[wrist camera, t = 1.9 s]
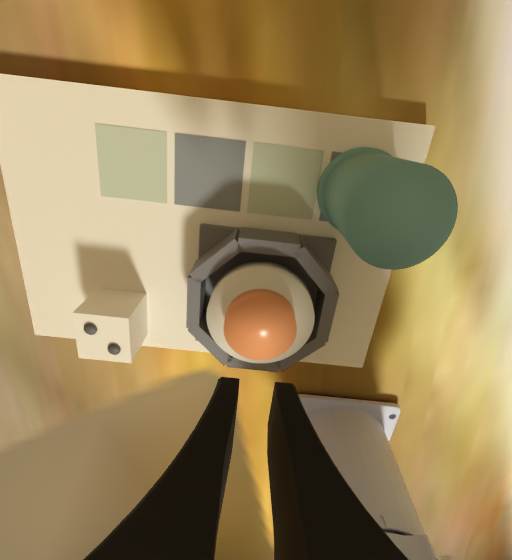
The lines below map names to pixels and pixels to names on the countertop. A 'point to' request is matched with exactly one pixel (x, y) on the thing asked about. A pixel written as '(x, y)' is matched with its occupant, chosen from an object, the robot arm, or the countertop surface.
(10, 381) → the countertop surface
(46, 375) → the countertop surface
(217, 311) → the dome button
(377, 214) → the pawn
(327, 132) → the game board
